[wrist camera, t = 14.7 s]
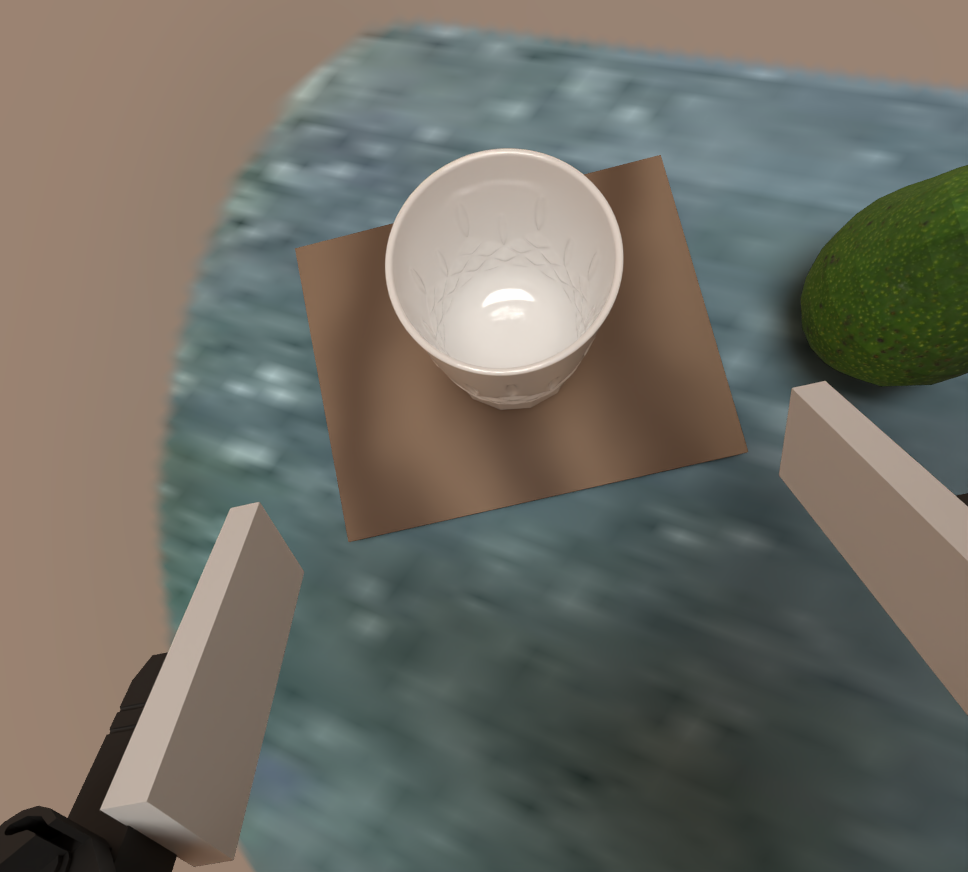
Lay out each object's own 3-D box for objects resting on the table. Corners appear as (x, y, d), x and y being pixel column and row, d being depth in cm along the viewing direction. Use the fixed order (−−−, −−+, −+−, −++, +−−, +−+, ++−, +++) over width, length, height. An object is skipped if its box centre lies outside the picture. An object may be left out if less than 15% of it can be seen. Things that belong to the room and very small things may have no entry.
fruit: (948, 394, 27) (1275, 305, 15) (783, 415, 28) (975, 346, 16) (911, 242, 28) (1189, 49, 16) (753, 265, 29) (911, 95, 17)
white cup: (404, 342, 28) (337, 255, 18) (517, 242, 29) (510, 102, 19) (506, 454, 27) (492, 425, 17) (623, 349, 27) (675, 261, 18)
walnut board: (655, 169, 30) (660, 155, 29) (738, 454, 27) (748, 451, 26) (304, 258, 31) (295, 248, 30) (356, 540, 28) (348, 542, 27)
